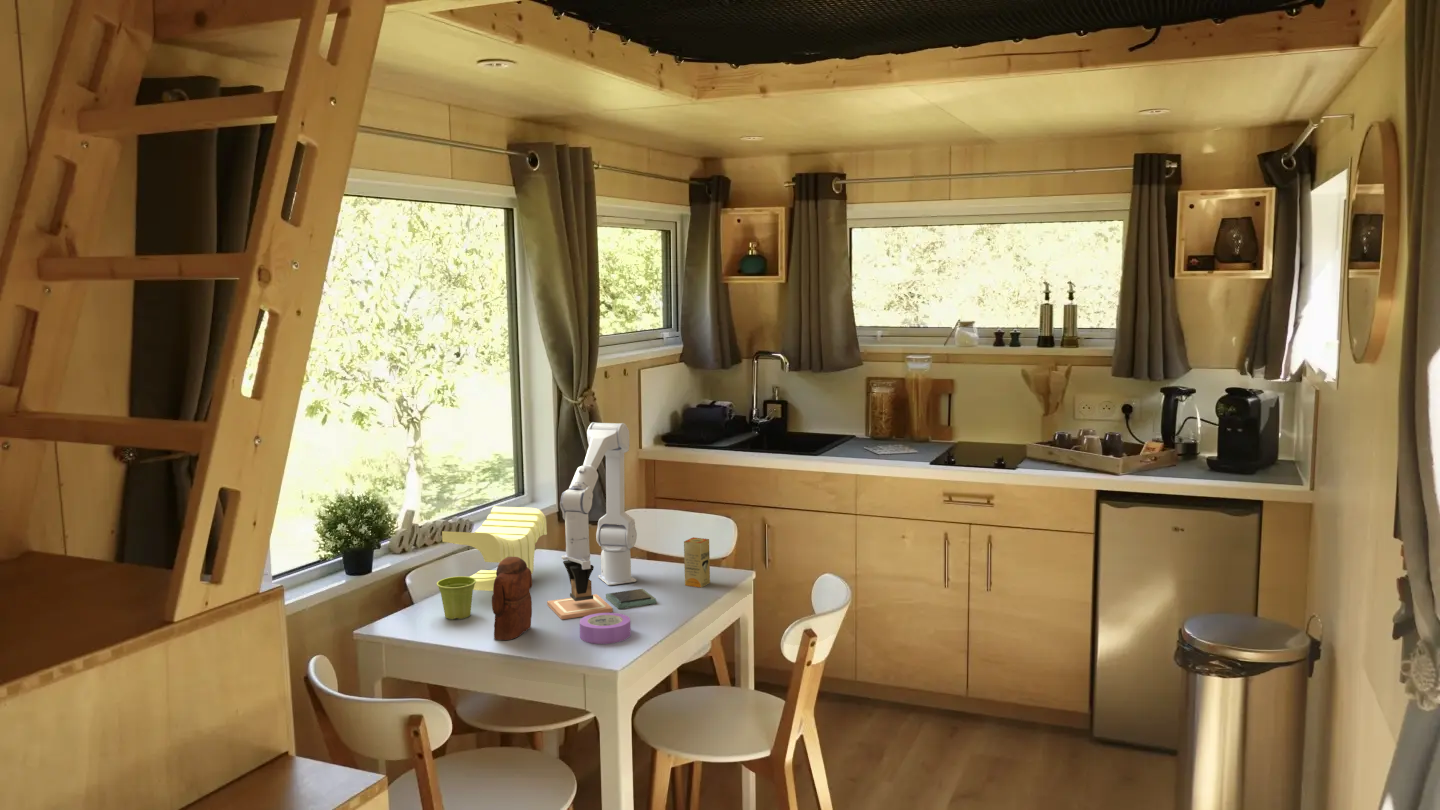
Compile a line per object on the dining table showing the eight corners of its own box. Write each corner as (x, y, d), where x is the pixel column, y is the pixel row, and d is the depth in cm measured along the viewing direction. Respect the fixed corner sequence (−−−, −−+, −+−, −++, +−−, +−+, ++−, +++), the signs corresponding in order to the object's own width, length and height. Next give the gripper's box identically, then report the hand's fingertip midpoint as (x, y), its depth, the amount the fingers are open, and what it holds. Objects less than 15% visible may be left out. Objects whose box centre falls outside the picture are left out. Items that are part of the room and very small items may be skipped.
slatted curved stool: (502, 601, 273) (499, 533, 271) (445, 598, 277) (442, 531, 275) (548, 570, 302) (545, 508, 300) (496, 567, 306) (493, 506, 304)
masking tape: (605, 624, 255) (605, 608, 254) (641, 634, 247) (640, 618, 247) (569, 637, 246) (568, 621, 246) (604, 648, 239) (604, 631, 238)
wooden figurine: (511, 624, 255) (508, 550, 253) (536, 626, 254) (533, 552, 252) (488, 640, 244) (484, 563, 242) (513, 642, 242) (510, 565, 240)
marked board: (547, 604, 270) (547, 600, 270) (596, 597, 275) (596, 593, 275) (561, 619, 258) (561, 615, 258) (612, 611, 264) (612, 607, 263)
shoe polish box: (710, 582, 287) (709, 539, 286) (701, 587, 283) (700, 543, 282) (693, 580, 290) (693, 537, 288) (684, 585, 285) (683, 541, 284)
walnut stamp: (570, 596, 268) (569, 571, 267) (587, 594, 270) (587, 569, 269) (575, 601, 264) (574, 576, 263) (593, 598, 266) (592, 574, 265)
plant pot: (485, 613, 264) (484, 579, 263) (457, 624, 256) (455, 589, 255) (459, 607, 269) (457, 574, 268) (430, 618, 261) (428, 583, 260)
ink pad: (605, 598, 275) (605, 592, 275) (642, 593, 279) (642, 587, 279) (618, 609, 266) (618, 603, 266) (656, 603, 270) (656, 597, 270)
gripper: (553, 532, 270) (555, 585, 271) (569, 545, 256) (571, 600, 258) (580, 529, 272) (582, 581, 274) (598, 542, 259) (599, 596, 261)
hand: (579, 590), depth 266 cm, fingers closed on walnut stamp, 4 cm apart
